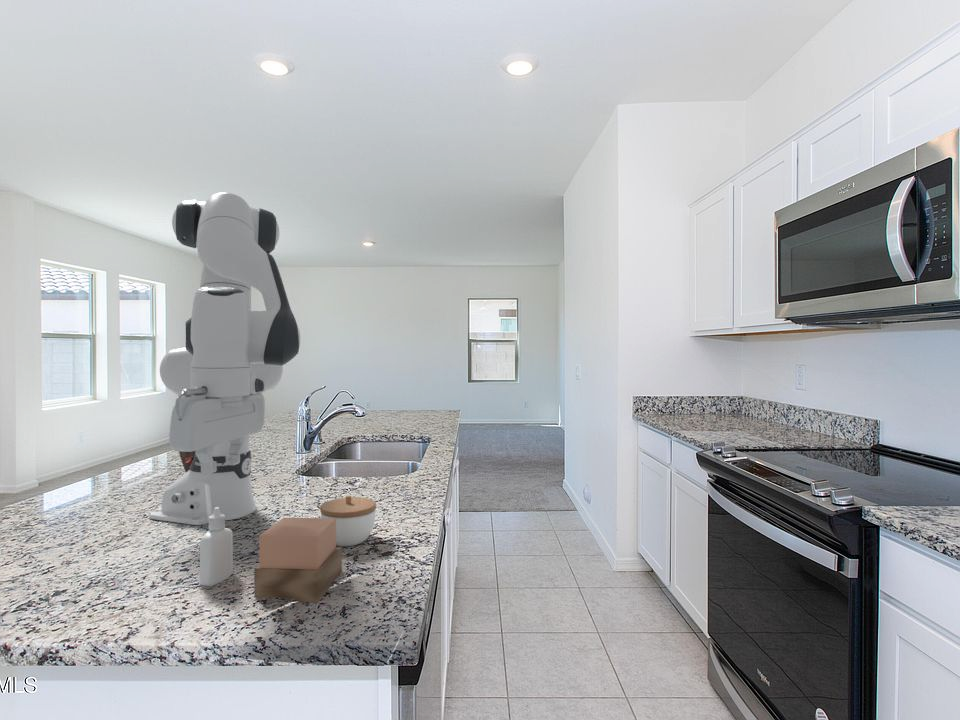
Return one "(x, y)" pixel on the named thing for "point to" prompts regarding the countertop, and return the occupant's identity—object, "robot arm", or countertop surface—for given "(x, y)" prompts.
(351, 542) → the lidded jar
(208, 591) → the countertop surface
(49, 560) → the countertop surface
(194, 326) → the robot arm
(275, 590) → the walnut base block
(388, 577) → the countertop surface
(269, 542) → the terracotta top block
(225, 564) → the eye dropper bottle
